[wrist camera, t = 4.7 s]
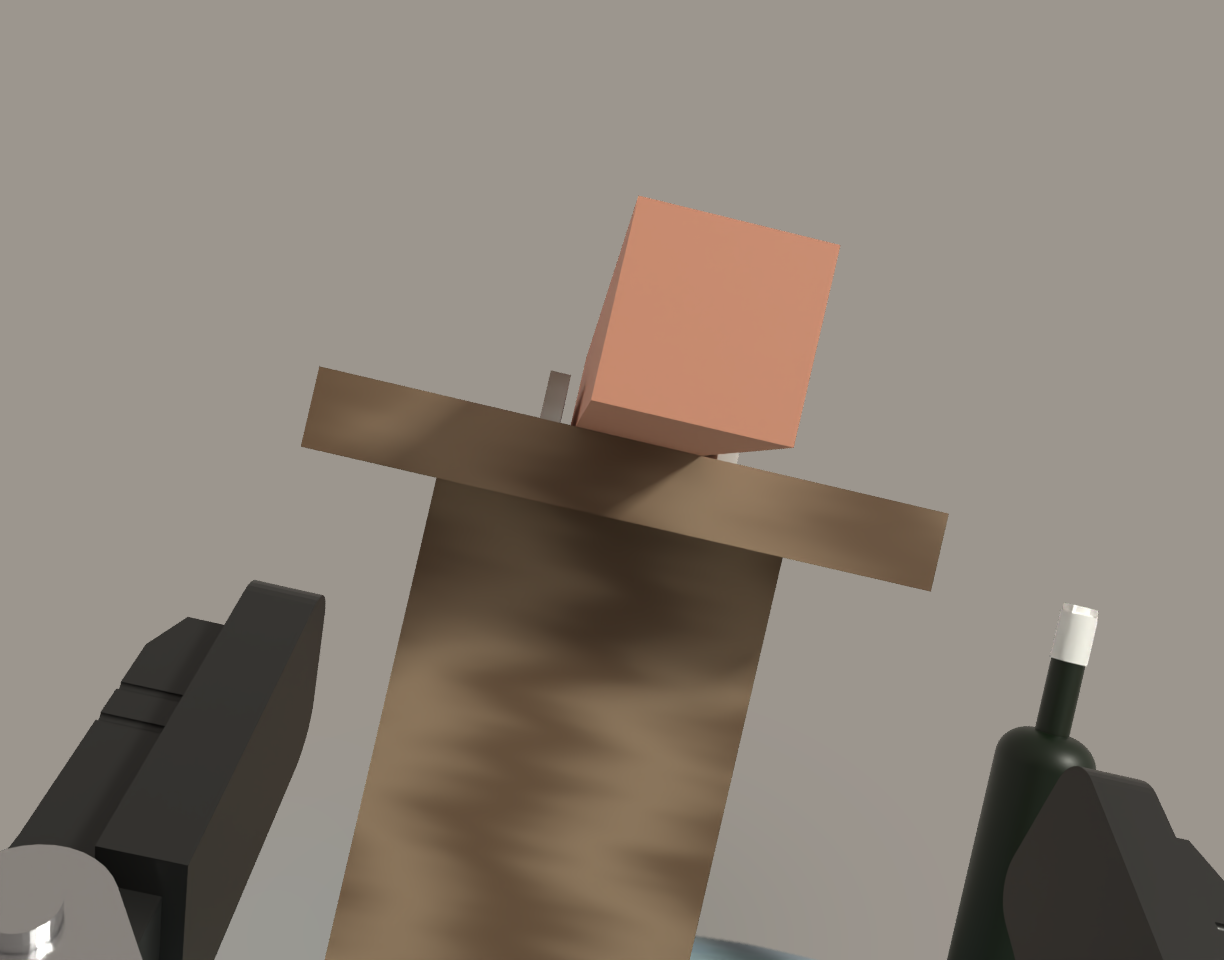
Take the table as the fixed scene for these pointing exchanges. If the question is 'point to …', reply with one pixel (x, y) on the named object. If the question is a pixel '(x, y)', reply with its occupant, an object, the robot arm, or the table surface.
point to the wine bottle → (1023, 790)
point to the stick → (706, 333)
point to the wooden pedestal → (570, 673)
